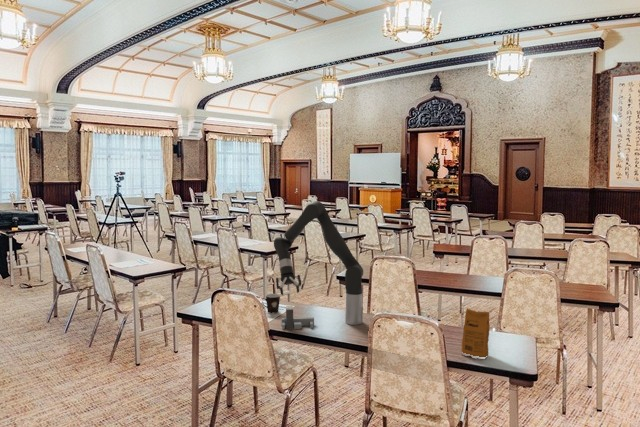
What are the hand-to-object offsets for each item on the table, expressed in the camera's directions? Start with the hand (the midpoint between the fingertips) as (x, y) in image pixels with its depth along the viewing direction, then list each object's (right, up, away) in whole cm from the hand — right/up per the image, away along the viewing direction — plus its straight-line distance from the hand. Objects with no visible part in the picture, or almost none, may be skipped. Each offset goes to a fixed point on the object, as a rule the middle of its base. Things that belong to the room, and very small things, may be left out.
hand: (290, 293), depth 274 cm
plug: (0, -17, -9) cm, 19 cm away
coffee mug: (-13, -15, +22) cm, 29 cm away
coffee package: (+90, -22, -44) cm, 103 cm away
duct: (+5, -17, -6) cm, 19 cm away
